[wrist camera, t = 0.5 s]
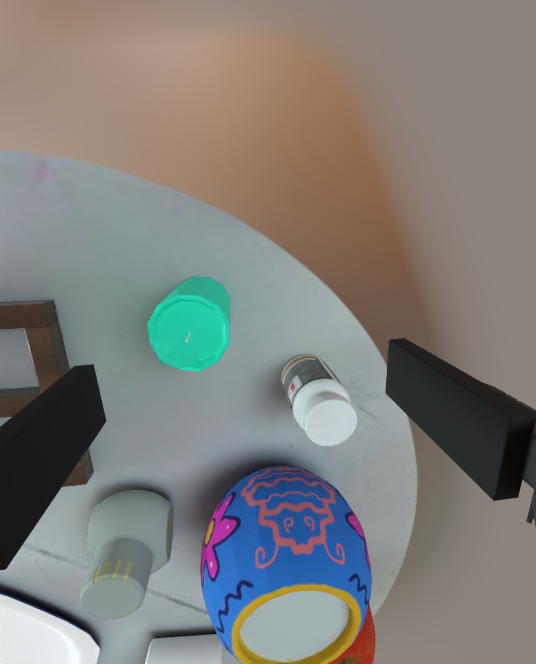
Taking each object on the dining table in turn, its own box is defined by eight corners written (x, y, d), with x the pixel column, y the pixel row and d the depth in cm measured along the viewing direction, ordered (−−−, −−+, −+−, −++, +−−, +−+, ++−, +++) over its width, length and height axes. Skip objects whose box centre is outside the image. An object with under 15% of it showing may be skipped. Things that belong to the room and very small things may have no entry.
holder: (-74, 305, 30) (-94, 310, 28) (53, 299, 31) (42, 303, 29) (-11, 482, 36) (-24, 496, 34) (94, 471, 37) (86, 484, 35)
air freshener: (101, 477, 37) (57, 559, 28) (173, 475, 38) (154, 553, 29) (108, 547, 40) (71, 642, 31) (174, 543, 41) (158, 635, 32)
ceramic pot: (204, 551, 42) (191, 710, 28) (208, 438, 37) (194, 562, 23) (329, 545, 45) (375, 690, 30) (348, 438, 40) (414, 551, 25)
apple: (280, 607, 47) (293, 708, 37) (298, 552, 44) (318, 646, 34) (346, 610, 49) (376, 707, 39) (368, 558, 46) (406, 648, 36)
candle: (179, 268, 31) (150, 286, 20) (237, 285, 33) (241, 311, 21) (166, 324, 33) (132, 370, 22) (222, 338, 34) (218, 389, 23)
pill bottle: (273, 390, 37) (288, 444, 27) (291, 346, 35) (313, 386, 26) (317, 402, 38) (346, 458, 28) (336, 360, 36) (373, 403, 27)
